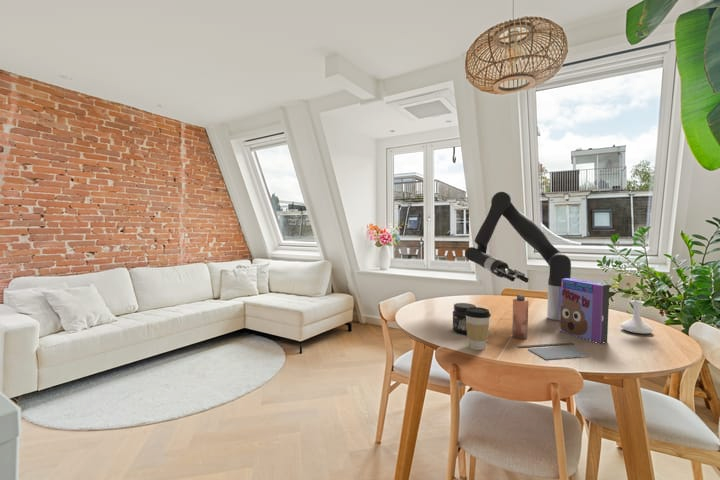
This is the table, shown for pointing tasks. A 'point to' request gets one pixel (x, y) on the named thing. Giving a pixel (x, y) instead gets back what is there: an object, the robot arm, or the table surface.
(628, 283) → the flower in vase
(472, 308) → the coffee cup
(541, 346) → the tape line
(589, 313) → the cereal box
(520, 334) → the water bottle
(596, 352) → the table surface
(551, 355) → the felt mat
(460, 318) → the supplement container
